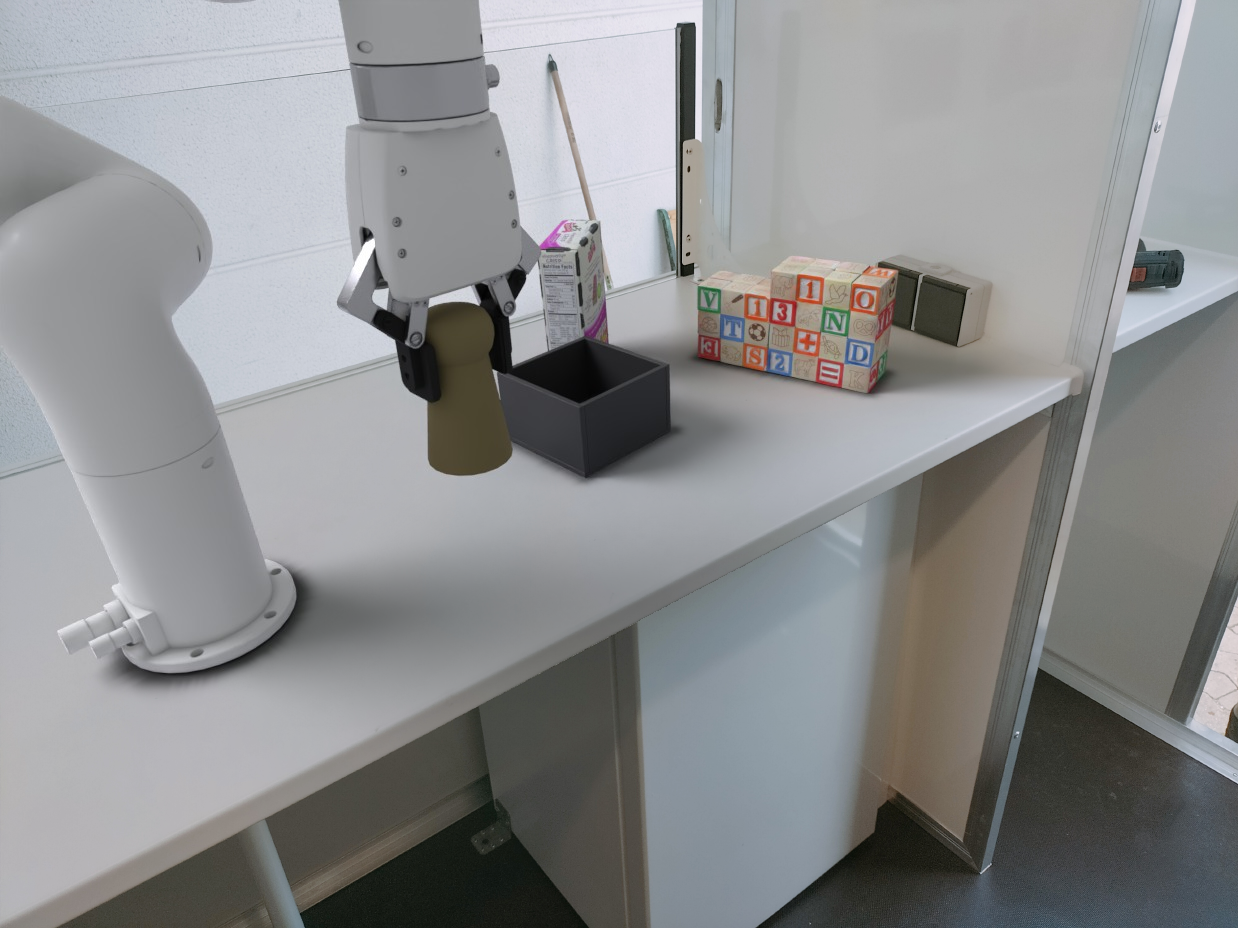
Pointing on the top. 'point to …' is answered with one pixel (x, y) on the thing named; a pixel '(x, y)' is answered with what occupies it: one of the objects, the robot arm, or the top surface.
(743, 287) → the stack of blocks
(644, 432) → the basket
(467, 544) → the top surface
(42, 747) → the top surface
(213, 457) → the robot arm
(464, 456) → the cork
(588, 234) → the candy bar box
